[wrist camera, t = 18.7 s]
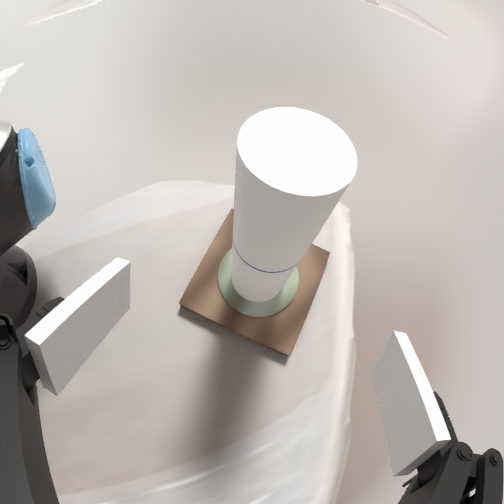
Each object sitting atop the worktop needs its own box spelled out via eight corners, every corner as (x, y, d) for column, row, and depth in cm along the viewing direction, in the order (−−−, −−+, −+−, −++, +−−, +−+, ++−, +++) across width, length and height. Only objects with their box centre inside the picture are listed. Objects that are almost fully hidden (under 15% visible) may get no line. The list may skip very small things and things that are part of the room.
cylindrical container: (220, 272, 38) (212, 134, 15) (261, 242, 40) (298, 95, 17) (254, 313, 37) (299, 220, 14) (294, 280, 39) (378, 161, 16)
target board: (180, 305, 38) (178, 302, 36) (231, 213, 44) (231, 207, 42) (287, 355, 36) (289, 355, 35) (327, 256, 42) (330, 251, 41)
